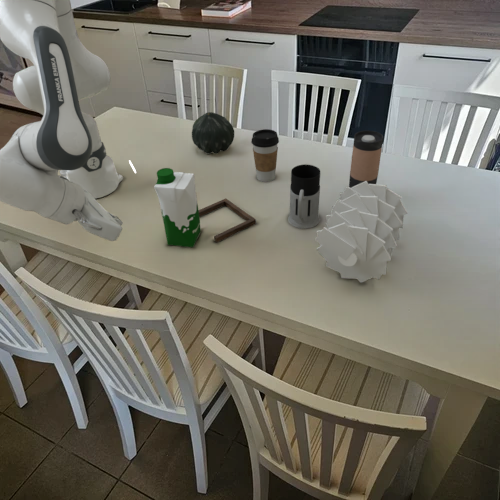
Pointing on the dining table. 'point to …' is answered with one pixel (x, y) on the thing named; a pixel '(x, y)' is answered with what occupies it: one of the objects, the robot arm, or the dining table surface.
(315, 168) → the glass holder
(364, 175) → the travel mug
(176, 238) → the soya milk
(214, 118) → the squash
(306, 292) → the dining table surface
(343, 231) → the spiral staircase
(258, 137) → the coffee cup
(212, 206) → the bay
